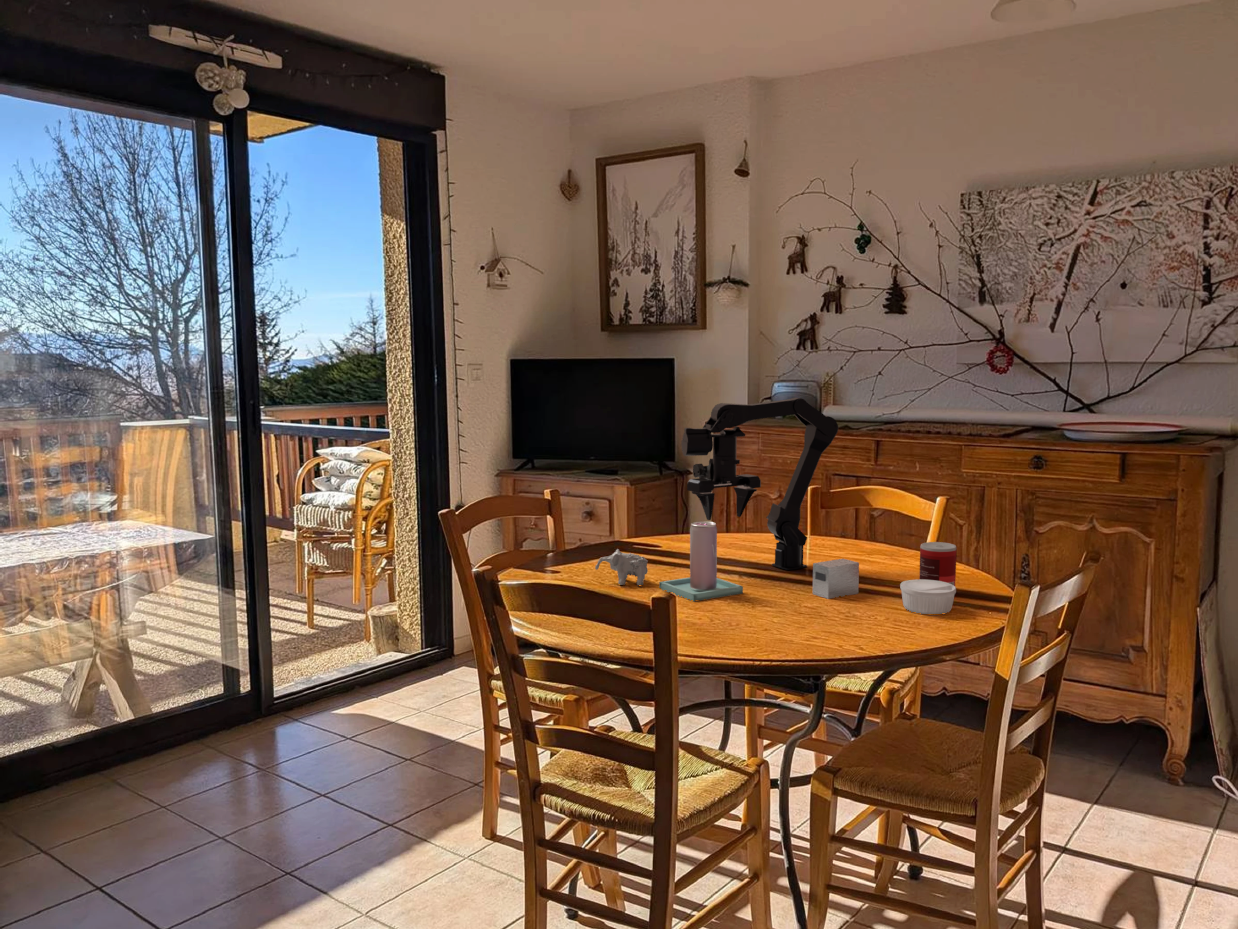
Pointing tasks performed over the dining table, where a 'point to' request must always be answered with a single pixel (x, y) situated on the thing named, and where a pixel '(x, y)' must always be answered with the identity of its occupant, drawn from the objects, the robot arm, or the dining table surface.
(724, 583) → the tray
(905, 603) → the ramekin
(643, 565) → the gray elephant figurine
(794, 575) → the dining table surface
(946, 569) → the canned food
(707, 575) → the beverage can
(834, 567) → the block
